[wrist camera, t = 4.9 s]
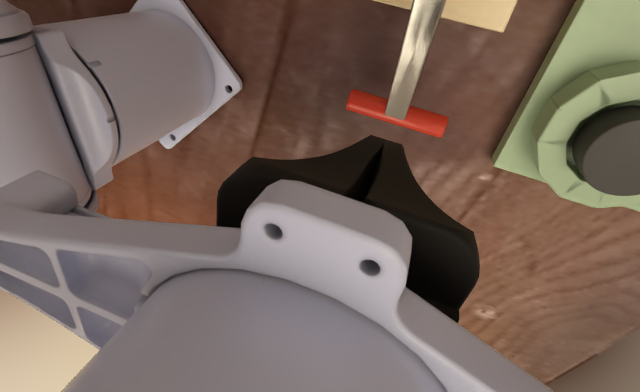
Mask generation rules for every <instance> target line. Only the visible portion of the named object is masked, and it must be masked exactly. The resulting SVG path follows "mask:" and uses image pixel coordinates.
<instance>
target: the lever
mask: <svg viewBox="0 0 640 392" xmlns="http://www.w3.org/2000/svg"><path fill="white" fill-rule="evenodd" d="M446 1H447V0H413V2H412V6H411V10H410V14H409V18H408V22H407V26H406V30H405V34H404V37H403V41H402V45H401V49H400V53H399V57H398V61H397V65H396V69H395V73H394V77H393V80H392V84H391V88H390V92H389V96H388V99H386V98H382V97H379V96H376V95H372V94H369V93H365V92H362V91H359V90H355V89H352V91H351V92H350V95H349V98H348V101H347V106H346V108H347V110H350V111H353V112H356V113H360V114H363V115H366V116H370V117H373V118H376V119H379V120H383V121H386V122H389V123H393V124H396V125H399V126H402V127H406V128H409V129H412V130H416V131H419V132H422V133H425V134H429V135H432V136H435V137H439V138H441V137H442V135H443V133H444V131H445V129H446V126H447V123H448V119H449V117H447V116H444V115H440V114H437V113H434V112H430V111H427V110H423V109H420V108H417V107H413V106H410V105H411V102H412V99H413V96H414V94H415V91H416V88H417V85H418V82H419V79H420V76H421V73H422V70H423V67H424V65H425V62H426V59H427V56H428V53H429V50H430V47H431V44H432V41H433V38H434V35H435V33H436V30H437V27H438V24H439V21H440V18H441V15H442V12H443V9H444V6H445V3H446Z"/></svg>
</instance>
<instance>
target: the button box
mask: <svg viewBox="0 0 640 392" xmlns="http://www.w3.org/2000/svg"><path fill="white" fill-rule="evenodd" d="M630 105H637V106H640V0H576V1H575V3H574V5H573V7H572V9H571V11H570V13H569V14H568V16H567V18H566V20H565V22H564V24H563V26H562V27H561V29H560V31H559V33H558V35H557V37H556V39H555V40H554V42H553V44H552V46H551V48H550V50H549V52H548V53H547V55H546V57H545V59H544V61H543V63H542V65H541V67H540V68H539V70H538V72H537V74H536V76H535V78H534V80H533V81H532V83H531V85H530V87H529V89H528V91H527V93H526V94H525V96H524V98H523V100H522V102H521V104H520V106H519V107H518V109H517V111H516V113H515V115H514V117H513V119H512V120H511V122H510V124H509V126H508V128H507V130H506V132H505V133H504V135H503V137H502V139H501V141H500V143H499V145H498V146H497V148H496V150H495V152H494V154H493V156H492V162H493V166H494V167H497V168H501V169H504V170H507V171H510V172H514V173H517V174H520V175H523V176H527V177H530V178H533V179H536V180H539V181H543V182H546V183H548V185H549V186H550V187H551V188H552V189H553V190H554V191H555V192H556V193H557V195H558V196H560V197H561V198H565V199H568V200H571V201H574V202H577V203H581V204H584V205H587V206H590V207H593V208H606V207H618V206H623V207H627V208H630V209H633V210H636V211H640V194H639V195H633V196H616V195H610V194H606V193H603V192H600V191H598V190H596V189H595V188H593V187H592V186H590V185H589V184H588V183H587V181H586V180H585V179H584V177H583V175H582V174H581V172H580V170H579V168H578V167H577V165H576V163H575V161H574V159H573V156H572V146H573V142H574V139H575V137H576V135H577V133H578V132H579V131H580V129H581V128H582V127H583V126H584V125H585V124H586V123H587V122H588V121H589V120H591V119H592V118H594V117H595V116H597V115H598V114H600V113H602V112H605V111H607V110H610V109H613V108H617V107H621V106H630Z"/></svg>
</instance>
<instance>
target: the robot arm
mask: <svg viewBox="0 0 640 392" xmlns="http://www.w3.org/2000/svg"><path fill="white" fill-rule="evenodd" d="M228 85H230V86H231V87H232V91H230V90H229V88H228ZM242 87H243V83H242V81H241V79H240V78H239V76H238V75H237V73H236V72H235V71H234V69H233V68H232V67H231V65H230V64H229V63H228V61H227V60H226V58H225V57H224V56H223V54H222V53H221V52H220V50H219V49H218V48H217V46H216V45H215V44H214V42H213V41H212V39H211V38H210V37H209V35H208V34H207V33H206V31H205V30H204V29H203V27H202V26H201V24H200V23H199V22H198V20H197V19H196V18H195V16H194V15H193V14H192V12H191V11H190V10H189V8H188V7H187V5H186V4H185V3H184V1H183V0H137V2H136V3H135V5H134V6H133V7H132V9H131V10H130V12H129V13H123V14H115V15H108V16H101V17H94V18H86V19H79V20H72V21H64V22H57V23H50V24H43V25H35V26H33V24H32V21H31V18H30V16H29V15H28V13H27V12H25V11H24V10H21V9H17V8H16V7H15V6H13V5H12V4H10V3H9V2H7V1H6V0H0V289H1V290H3V291H5V292H7V293H9V294H11V295H13V296H14V297H16V298H18V299H20V300H22V301H23V302H25V303H27V304H29V305H30V306H32V307H34V308H35V309H37V310H39V311H40V312H42V313H43V314H45V315H47V316H48V317H50V318H51V319H53V320H55V321H56V322H58V323H59V324H61V325H62V326H64V327H65V328H67V329H68V330H70V331H71V332H73V333H74V334H76V335H78V336H79V337H81V338H82V339H84V340H85V341H87V342H88V343H90V344H91V345H93V346H94V347H96V348H97V349H99V350H100V351H99V352H98V353H97V354H96V355H95V356H94V357H93V358H92V359H91V360H90V361H89V362H88V363H87V364H86V366H85V367H84V368H83V369H82V370H81V371H80V372H79V373H78V374H77V375H76V376H75V377H74V378H73V379H72V380H71V382H69V384H68V385H67V386H66V387H65V388H64V389H63V390H62V391H61V392H555V391H553V390H552V389H550V388H549V387H547V386H546V385H545V384H543V383H542V382H540V381H539V380H538V379H536V378H535V377H533V376H532V375H530V374H529V373H528V372H526V371H525V370H523V369H522V368H520V367H519V366H518V365H516V364H515V363H513V362H512V361H510V360H509V359H508V358H506V357H505V356H503V355H502V354H501V353H499V352H498V351H496V350H495V349H493V348H492V347H491V346H489V345H488V344H486V343H485V342H483V341H482V340H481V339H479V338H478V337H476V336H475V335H473V334H472V333H471V332H469V331H468V330H466V329H465V328H464V327H462V326H461V325H459V324H458V321H459V309H460V307H461V306H462V304H463V303H464V301H465V300H466V298H467V297H468V295H469V294H470V292H471V291H472V289H473V288H474V286H475V285H476V282H477V280H478V278H479V267H480V263H479V253H478V248H477V244H476V240H475V236H474V232H473V231H471V230H469V229H468V228H466V227H464V226H463V225H461V224H460V223H458V222H456V221H455V220H453V219H452V218H451V217H449V216H448V215H447V214H446V213H444V212H443V211H442V210H441V209H440V208H438V207H437V206H436V205H435V204H434V203H433V202H432V201H431V200H430V199H429V198H428V196H427V195H426V194H425V193H424V192H423V190H422V189H421V187H420V186H419V185H418V183H417V182H416V180H415V178H414V176H413V174H412V172H411V170H410V167H409V165H408V162H407V159H406V156H405V152H404V148H403V145H401V144H398V143H395V142H392V141H389V140H385V139H382V138H379V137H376V136H373V135H370V136H368V137H366V138H364V139H362V140H361V141H359V142H357V143H355V144H353V145H351V146H349V147H347V148H345V149H342V150H340V151H337V152H334V153H331V154H328V155H324V156H320V157H315V158H307V159H298V160H276V159H266V158H257V157H252V158H251V159H249V160H248V161H247V162H245V163H244V164H243V165H242V166H240V167H239V168H238V169H237V170H236V171H235V172H234V173H233V174H232V175H231V176H230V177H228V178H227V179H226V180H225V181H224V182H223V184H222V185H221V187H220V189H219V191H218V196H217V226H205V225H192V224H179V223H165V222H152V221H139V220H126V219H112V218H110V217H107V216H105V215H102V214H100V213H97V212H96V211H97V210H98V206H99V197H98V194H97V192H96V190H97V189H98V188H100V187H102V186H103V185H105V184H107V183H108V182H110V181H112V180H113V174H112V166H114V165H116V164H117V163H119V162H121V161H123V160H124V159H126V158H128V157H130V156H131V155H133V154H135V153H137V152H138V151H140V150H142V149H144V148H145V147H147V146H149V145H151V144H152V143H154V142H156V141H159V142H160V143H161V144H162V145H163V146H164V147H165V148H167V149H170V148H172V147H173V146H175V145H176V144H177V143H178V142H179V141H181V140H182V139H183V138H184V137H185V136H187V135H188V134H189V133H190V132H191V131H193V130H194V129H195V128H196V127H197V126H199V125H200V124H201V123H202V122H203V121H205V120H206V119H207V118H208V117H209V116H210V115H212V114H213V113H214V112H215V111H216V110H218V109H219V108H220V107H221V106H222V105H224V104H225V103H226V102H227V101H228V100H230V99H231V98H232V97H233V96H234V95H236V94H237V93H238V92H239V91H240V90H241V89H242ZM173 135H174V136H175V137H176V138H175V137H174V136H173Z"/></svg>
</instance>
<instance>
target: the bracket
mask: <svg viewBox="0 0 640 392" xmlns="http://www.w3.org/2000/svg"><path fill="white" fill-rule="evenodd" d="M373 1H377V2H381V3H385V4H389V5H393V6H397V7H401V8H405V9H409V10H411V6H412V2H413V0H373ZM517 1H518V0H447V1H446V3H445V6H444V9H443V12H442V15H441V18H445V19H449V20H453V21H457V22H461V23H465V24H469V25H473V26H477V27H481V28H485V29H489V30H493V31H497V32H501V33H502V32H504V30H505V27H506V25H507V23H508V21H509V18H510V16H511V14H512V12H513V10H514V7H515V5H516V3H517Z"/></svg>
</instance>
